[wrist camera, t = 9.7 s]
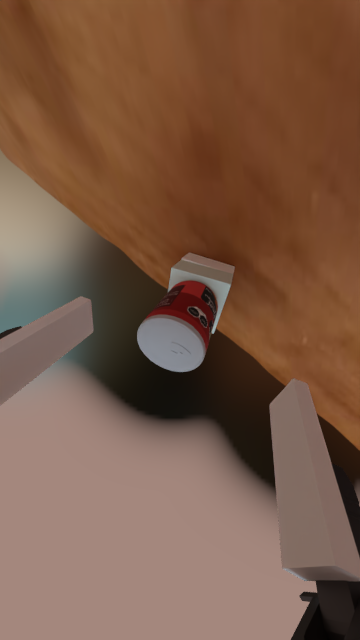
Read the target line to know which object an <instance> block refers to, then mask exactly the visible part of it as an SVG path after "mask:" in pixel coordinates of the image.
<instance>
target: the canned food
mask: <svg viewBox="0 0 360 640" xmlns="http://www.w3.org/2000/svg"><path fill="white" fill-rule="evenodd" d="M217 311H218V302H217V299H216V297H215V295H214V293H213V291H212V290H211V289H210V288H209V287H208V286H206V285H205V284H203V283H201V282H198V281H192V280H189V281H183V282H180V283H178V284H176V285H175V286H173V287H172V288H171V290H170V291H169V292H168V293H167V294H166V295H165V297H164V298H163V299H162V300H161V301H160V302H159V304H158V305H157V306H156V307H155V308H154V309H153V311H152V312H151V313H150V314H149V315H148V316H147V318H146V319H145V320H144V321H143V323H142V324H141V326H140V327H139V330H138V333H137V340H138V344H139V346H140V348H141V350H142V351H143V353H144V354H145V355H146V356H147V357H148V358H149V359H150V360H151V361H153V362H154V363H155V364H157V365H159V366H161V367H163V368H165V369H168V370H172V371H177V372H185V371H190V370H193V369H195V368H196V367H198V366H199V365H200V363H202V360H203V358H204V356H205V353H206V350H207V347H208V343H209V340H210V336H211V333H212V329H213V326H214V322H215V318H216V315H217Z"/></svg>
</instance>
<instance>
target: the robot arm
mask: <svg viewBox="0 0 360 640" xmlns="http://www.w3.org/2000/svg"><path fill="white" fill-rule="evenodd" d="M92 332H93V320H92V308H91V300H89V299H87V298H84V297H82V296H81V297H79V298H77V299H75V300H73V301H71V302H69V303H67V304H66V305H64V306H62V307H60V308H58V309H56V310H55V311H52V312H51V313H49V314H47V315H45V316H43V317H41V318H39V319H37V320H36V321H34V322H32V323H30V324H28V325H26V326H24V327H21V326H20V327H16V328H12V329H9V330H6V331H4V332H2V333H1V334H0V405H2V404H3V403H4V402H5V401H7V400H8V399H9V398H11V397H12V396H13V395H14V394H16V393H17V392H18V391H19V390H21V389H22V388H23V387H24V386H26V385H27V384H28V383H29V382H31V381H32V380H33V379H34V378H36V377H37V376H38V375H39V374H41V373H42V372H43V371H45V370H46V369H47V368H48V367H50V366H51V365H52V364H53V363H55V362H56V361H57V360H58V359H60V358H61V357H62V356H63V355H65V354H66V353H67V352H69V351H70V350H71V349H72V348H74V347H75V346H76V345H77V344H79V343H80V342H81V341H82V340H84V339H85V338H86V337H87V336H89V335H90V334H91V333H92ZM270 418H271V431H272V444H273V455H274V469H275V482H276V495H277V508H278V521H279V533H280V545H281V558H282V568H283V569H284V570H286V571H288V572H289V573H291V574H293V575H295V576H297V577H299V578H300V579H302V580H304V581H316V585H317V592H318V593H312V592H303V593H302V594H301V595H300V598H301V600H302V601H308V602H310V603H309V605H308V607H307V609H306V611H305V613H304V615H303V617H302V619H301V621H300V623H299V625H298V627H297V629H296V631H295V632H294V634H293V637H292V638H291V640H360V507H359V501H358V498H357V496H356V493H355V490H354V487H353V485H352V483H351V482H350V480H349V478H348V477H347V475H346V473H345V472H344V470H343V468H341V467H339V466H337V465H335V464H332V463H331V461H330V457H329V454H328V451H327V448H326V444H325V440H324V437H323V434H322V430H321V427H320V424H319V420H318V417H317V414H316V410H315V407H314V404H313V400H312V397H311V394H310V390H309V387H308V384H307V383H304V382H302V381H299V380H296V379H294V378H293V379H292V380H291V381H290V383H289V384H288V385H287V386H286V387H285V388H284V389H283V390H282V391H281V393H280V394H279V395H278V396H277V397H276V398H275V399H274V400H273V402H272V403H271V404H270Z"/></svg>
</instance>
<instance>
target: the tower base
mask: <svg viewBox="0 0 360 640" xmlns="http://www.w3.org/2000/svg"><path fill="white" fill-rule="evenodd" d="M182 260H184V261H188V262H192V263H195V264H199V265H203V266H206V267H210V268H214V269H217V270H221V271H224V272H228V273H232V274H234V269H235V266H231V265H228V264H225V263H222V262H219V261H215V260H212V259H209V258H206V257H203V256H199V255H196V254H193V253H190V252H189V253H188V254H187V255H185V256H184V257H183V258H182Z"/></svg>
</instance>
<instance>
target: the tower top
mask: <svg viewBox="0 0 360 640" xmlns="http://www.w3.org/2000/svg"><path fill="white" fill-rule="evenodd" d="M232 278H233V274H232V273H228V272H224V271H221V270H217V269H214V268H210V267H206V266H203V265H199V264H195V263H192V262H188V261H184V260H180V261H179V262H178V263H177V264H175V265H174V266H173V267H172V268H171V275H170V281H169V288H168V292H169V291H170V290H171V288H172V287H173V286H175V285H176V284H178V283H180V282H183V281H189V280H192V281H198V282H201V283H203V284H205V285H206V286H208V287H209V288H210V289H211V290H212V291H213V293H214V295H215V297H216V299H217V302H218V311H217V315H216V318H215V322H214V326H213V329H212V333H213V334H214V331H215V328H216V326H217V323H218V320H219V317H220V314H221V312H222V309H223V306H224V303H225V300H226V298H227V295H228V292H229V289H230V286H231V283H232Z"/></svg>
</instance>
